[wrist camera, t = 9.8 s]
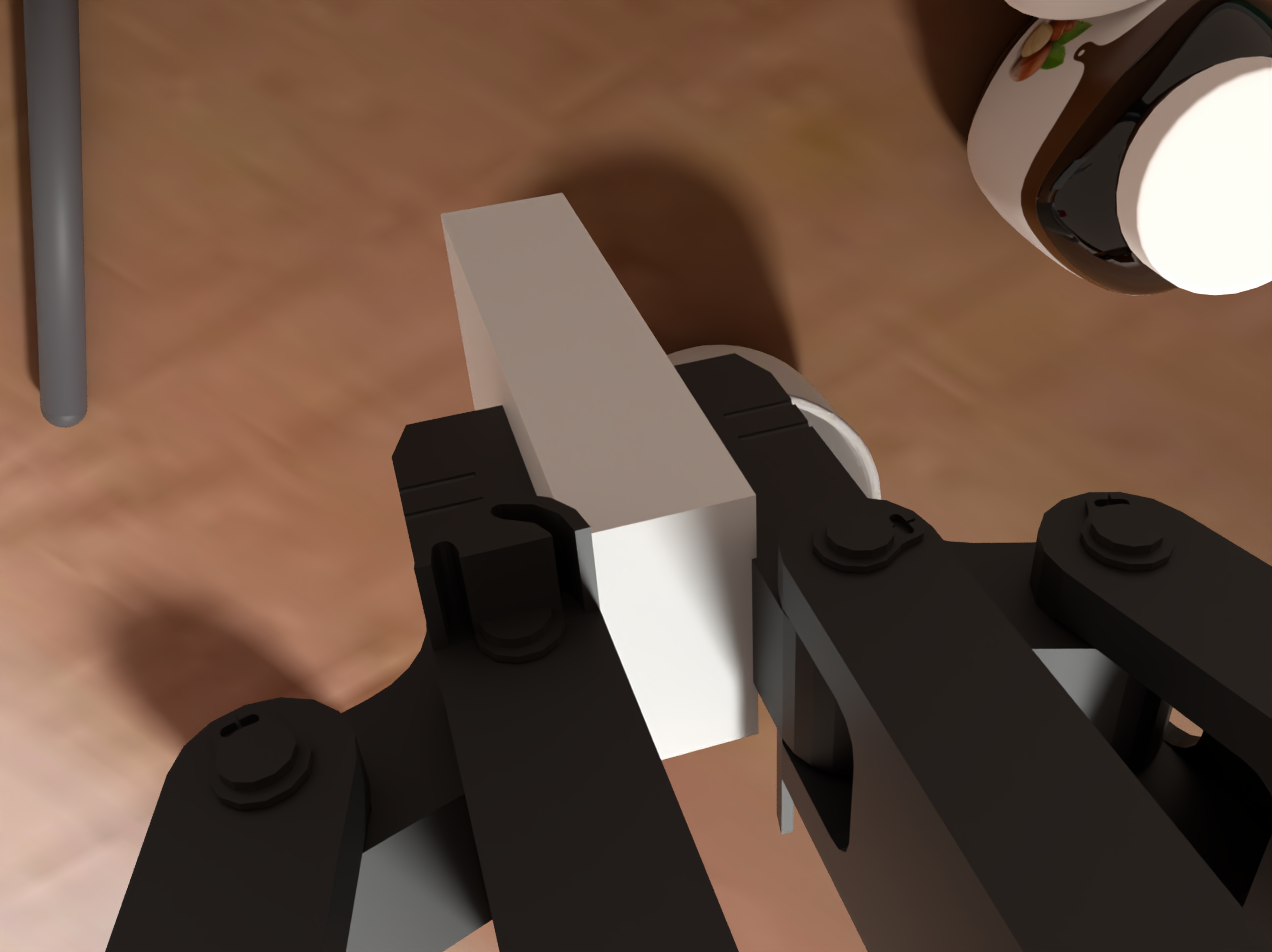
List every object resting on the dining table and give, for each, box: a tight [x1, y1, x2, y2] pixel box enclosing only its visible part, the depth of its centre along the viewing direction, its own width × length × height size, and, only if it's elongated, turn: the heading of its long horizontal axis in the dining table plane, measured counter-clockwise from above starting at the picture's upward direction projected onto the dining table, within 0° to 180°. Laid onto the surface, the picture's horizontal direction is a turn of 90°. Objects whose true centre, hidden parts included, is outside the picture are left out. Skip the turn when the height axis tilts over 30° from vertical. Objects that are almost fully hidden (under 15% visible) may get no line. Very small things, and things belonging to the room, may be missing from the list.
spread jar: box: [967, 0, 1272, 296], centre depth 39 cm, size 12×11×12 cm
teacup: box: [667, 345, 881, 500], centre depth 47 cm, size 14×11×8 cm
